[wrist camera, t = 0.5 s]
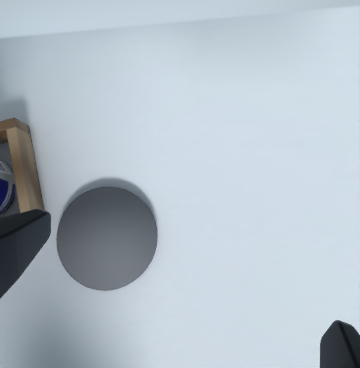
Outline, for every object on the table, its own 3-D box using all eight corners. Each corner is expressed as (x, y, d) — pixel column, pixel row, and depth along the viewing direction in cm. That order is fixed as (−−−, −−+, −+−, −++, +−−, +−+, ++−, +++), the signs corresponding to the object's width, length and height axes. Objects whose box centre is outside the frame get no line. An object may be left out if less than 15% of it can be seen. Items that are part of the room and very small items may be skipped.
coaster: (151, 294, 23) (150, 296, 22) (53, 282, 24) (49, 284, 23) (162, 192, 24) (161, 191, 23) (68, 184, 25) (64, 183, 24)
